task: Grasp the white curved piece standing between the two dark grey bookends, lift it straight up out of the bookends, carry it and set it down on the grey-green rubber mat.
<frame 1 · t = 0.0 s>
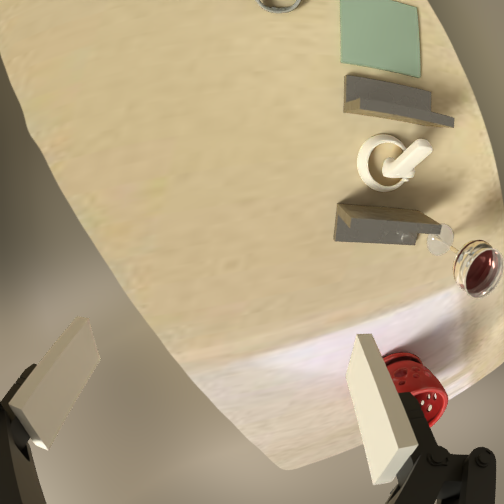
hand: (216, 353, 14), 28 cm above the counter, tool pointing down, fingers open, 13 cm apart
plant pot: (391, 370, 50), on the counter
dark grey bookends: (384, 162, 37), on the counter
mat: (380, 32, 31), on the counter
wineglass: (440, 239, 41), on the counter
white curved piece: (383, 162, 38), on the counter
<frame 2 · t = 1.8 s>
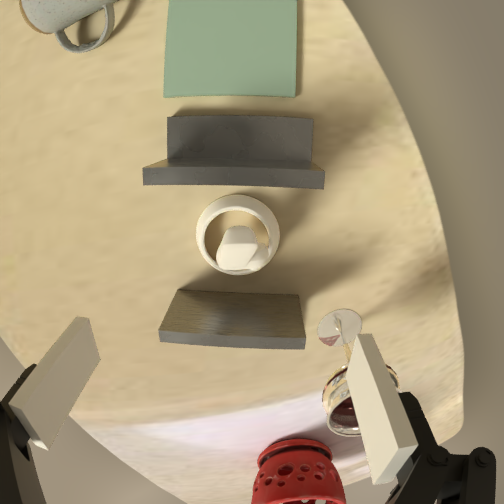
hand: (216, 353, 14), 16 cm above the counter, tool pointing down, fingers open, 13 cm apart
plant pot: (294, 451, 42), on the counter
dark grey bookends: (237, 235, 29), on the counter
mat: (230, 36, 22), on the counter
wineglass: (339, 327, 33), on the counter
white curved piece: (237, 234, 29), on the counter
ceramic mug: (93, 7, 21), on the counter
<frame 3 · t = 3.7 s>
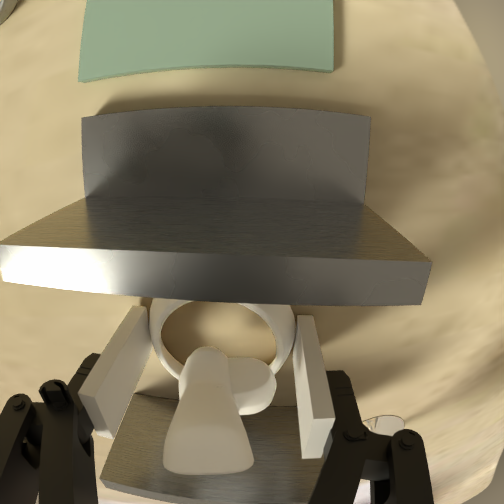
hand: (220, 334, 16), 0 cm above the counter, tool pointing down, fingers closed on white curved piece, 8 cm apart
dark grey bookends: (220, 330, 16), on the counter
wineglass: (373, 433, 20), on the counter
white curved piece: (221, 328, 16), on the counter, touching gripper
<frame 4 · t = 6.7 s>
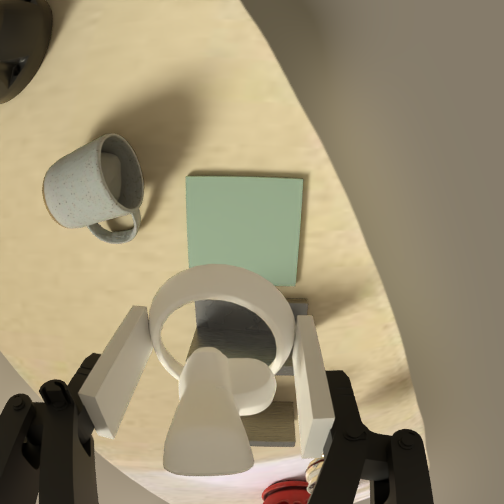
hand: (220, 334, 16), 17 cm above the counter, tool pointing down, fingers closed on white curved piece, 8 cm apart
plant pot: (290, 487, 51), on the counter
dark grey bookends: (249, 370, 38), on the counter
mat: (243, 231, 31), on the counter
wineglass: (323, 417, 41), on the counter
white curved piece: (221, 328, 16), point 16 cm above the counter, touching gripper
ceramic mug: (115, 189, 31), on the counter
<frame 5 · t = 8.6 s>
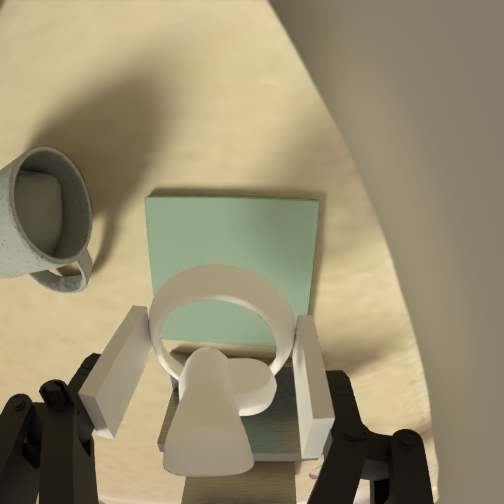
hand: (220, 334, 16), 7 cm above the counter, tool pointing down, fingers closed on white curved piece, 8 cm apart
dark grey bookends: (242, 432, 29), on the counter
mat: (230, 275, 22), on the counter
white curved piece: (221, 328, 16), point 6 cm above the counter, touching gripper
ceramic mug: (59, 219, 21), on the counter
when the fingers open (2 cm above the counter, at t = 9.9 s): white curved piece drops 1 cm, resting on mat.
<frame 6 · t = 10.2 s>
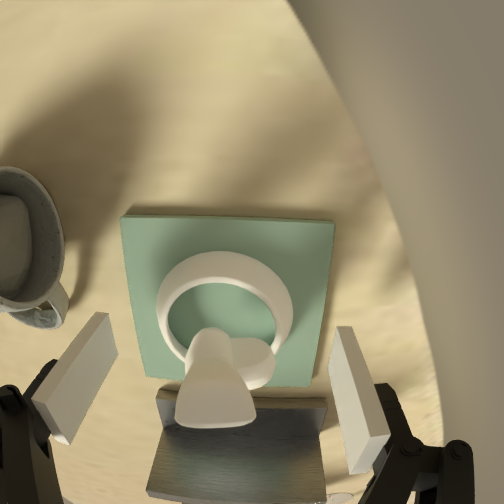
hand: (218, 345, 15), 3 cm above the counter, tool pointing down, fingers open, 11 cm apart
dark grey bookends: (240, 467, 25), on the counter
mat: (225, 310, 18), on the counter
wineglass: (332, 499, 28), on the counter
white curved piece: (224, 312, 18), resting on mat
ceramic mug: (31, 246, 17), on the counter
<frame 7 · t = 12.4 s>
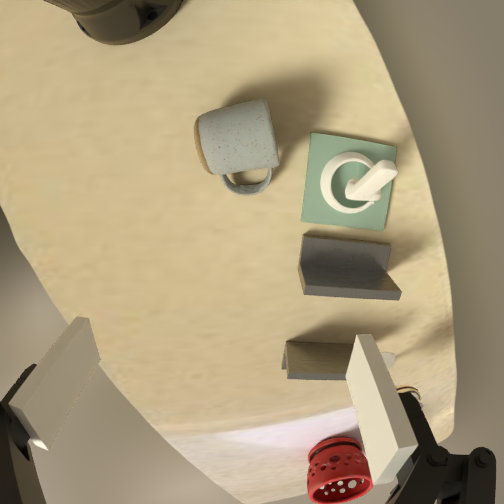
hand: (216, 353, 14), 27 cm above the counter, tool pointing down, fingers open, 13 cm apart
plant pot: (334, 447, 57), on the counter
dark grey bookends: (333, 310, 44), on the counter
mat: (349, 182, 37), on the counter
wineglass: (381, 362, 48), on the counter
white curved piece: (350, 182, 37), resting on mat
ceramic mug: (245, 148, 37), on the counter
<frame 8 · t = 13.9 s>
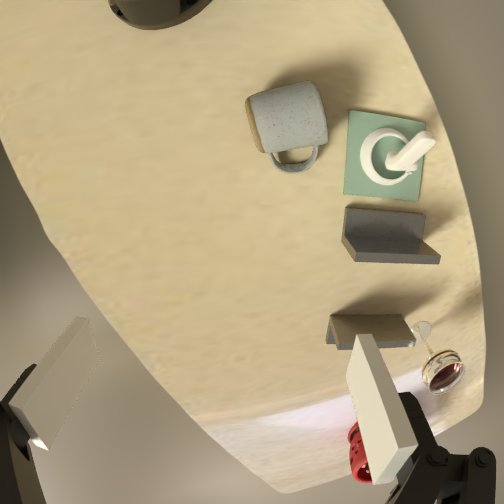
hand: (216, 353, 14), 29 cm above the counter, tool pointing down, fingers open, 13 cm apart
plant pot: (372, 424, 57), on the counter
dark grey bookends: (374, 281, 44), on the counter
mat: (385, 156, 38), on the counter
wineglass: (418, 332, 48), on the counter
white curved piece: (386, 156, 37), resting on mat
ceramic mug: (289, 129, 37), on the counter
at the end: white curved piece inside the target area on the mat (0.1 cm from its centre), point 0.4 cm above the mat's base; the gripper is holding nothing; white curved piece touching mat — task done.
